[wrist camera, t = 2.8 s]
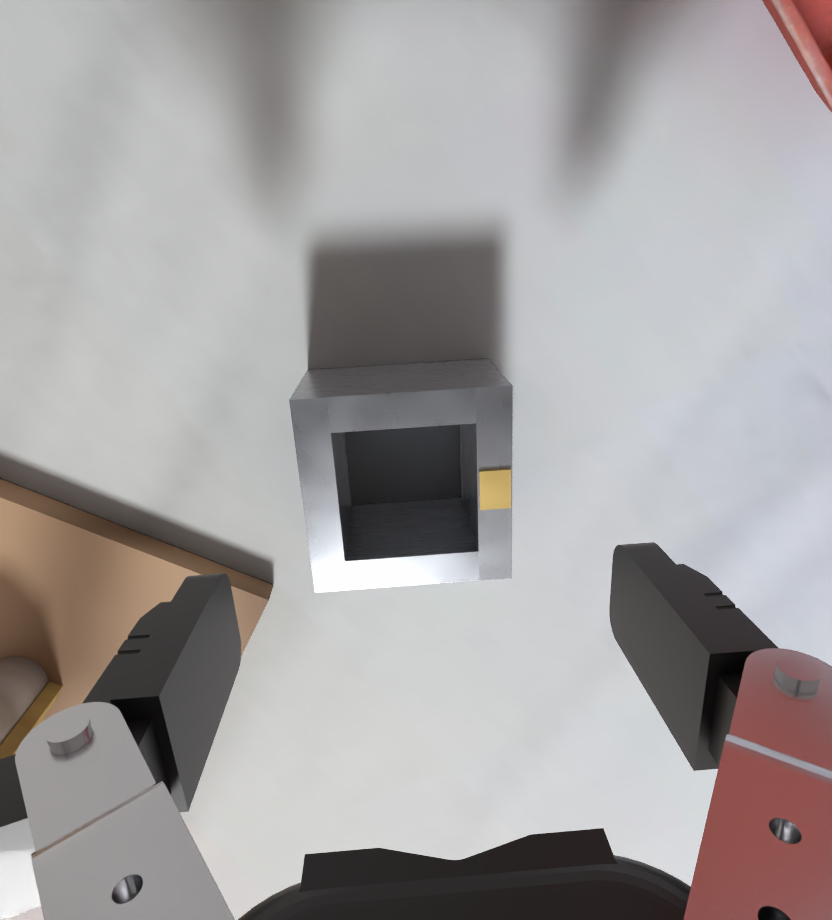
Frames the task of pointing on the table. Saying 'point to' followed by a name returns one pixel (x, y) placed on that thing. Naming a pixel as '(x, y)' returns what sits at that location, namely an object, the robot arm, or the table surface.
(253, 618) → the tan square baseplate
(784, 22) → the plant saucer
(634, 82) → the table surface
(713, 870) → the robot arm
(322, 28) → the table surface
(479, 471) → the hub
